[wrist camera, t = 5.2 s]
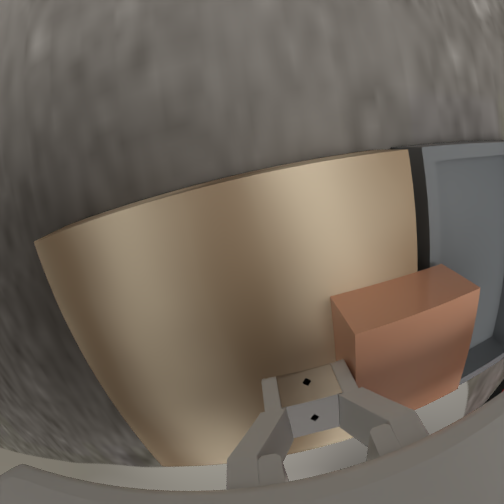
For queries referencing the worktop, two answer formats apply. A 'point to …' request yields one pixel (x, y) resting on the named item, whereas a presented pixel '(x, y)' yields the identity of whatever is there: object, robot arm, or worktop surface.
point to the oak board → (227, 291)
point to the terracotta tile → (407, 334)
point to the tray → (465, 230)
